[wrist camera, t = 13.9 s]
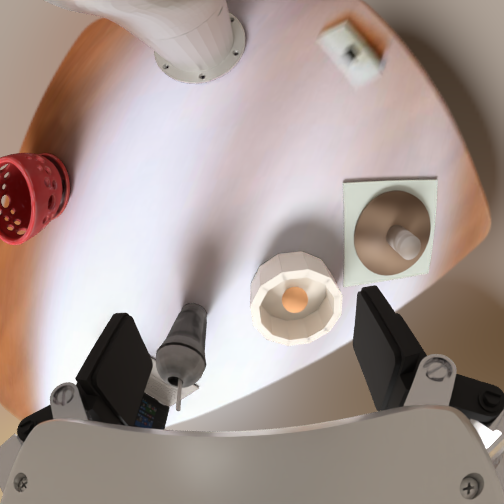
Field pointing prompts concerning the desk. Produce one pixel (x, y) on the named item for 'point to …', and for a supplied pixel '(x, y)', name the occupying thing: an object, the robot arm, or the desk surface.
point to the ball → (294, 299)
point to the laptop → (157, 411)
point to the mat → (354, 203)
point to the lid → (392, 232)
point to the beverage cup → (184, 350)
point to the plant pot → (31, 194)
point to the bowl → (282, 278)
